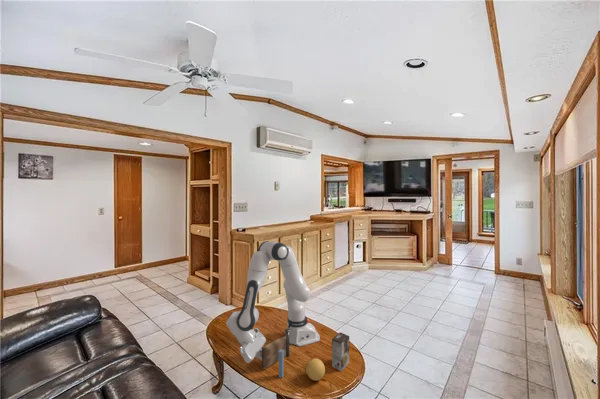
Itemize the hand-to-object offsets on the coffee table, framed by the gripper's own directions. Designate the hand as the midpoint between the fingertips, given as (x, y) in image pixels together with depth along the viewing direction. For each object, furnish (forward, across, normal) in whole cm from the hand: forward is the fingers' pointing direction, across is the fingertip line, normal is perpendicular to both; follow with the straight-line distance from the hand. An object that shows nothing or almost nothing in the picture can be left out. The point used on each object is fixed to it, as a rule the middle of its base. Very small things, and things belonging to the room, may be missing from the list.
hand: (263, 358), depth 153 cm
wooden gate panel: (+6, +4, -1) cm, 8 cm away
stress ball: (+25, -1, -18) cm, 31 cm away
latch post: (+12, -4, -5) cm, 14 cm away
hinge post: (+10, +13, -4) cm, 17 cm away
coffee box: (+32, +14, -26) cm, 44 cm away
